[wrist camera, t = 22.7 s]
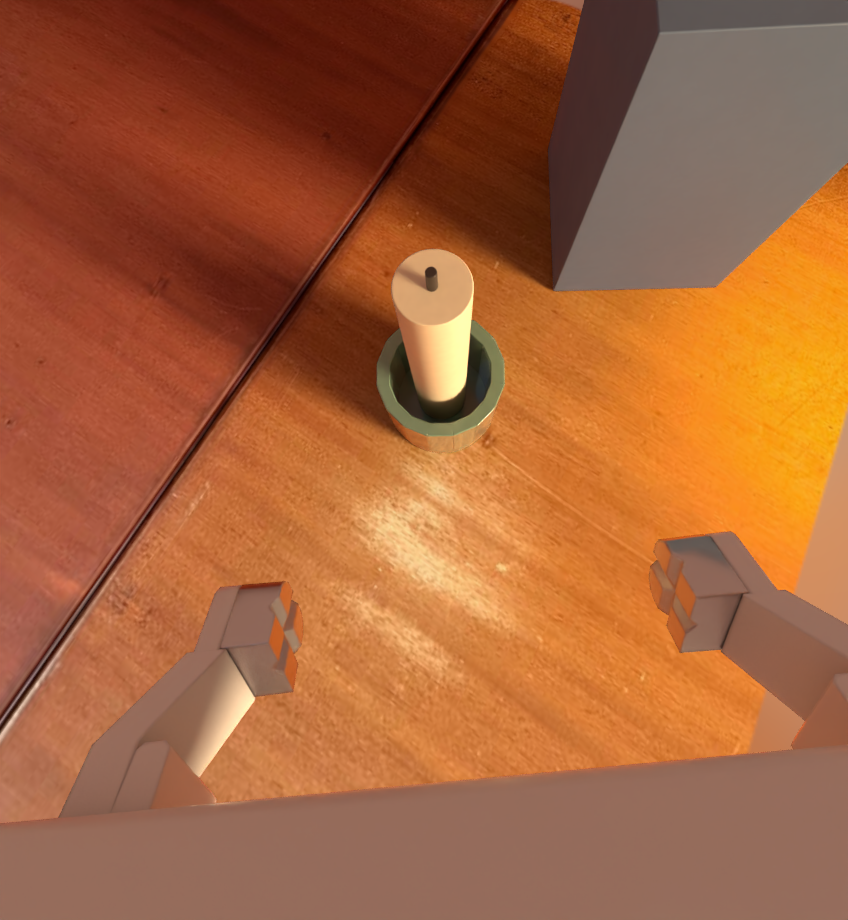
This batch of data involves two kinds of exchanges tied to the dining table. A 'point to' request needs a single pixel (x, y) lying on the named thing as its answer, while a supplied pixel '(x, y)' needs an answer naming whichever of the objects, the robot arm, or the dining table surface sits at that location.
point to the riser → (691, 135)
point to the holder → (478, 404)
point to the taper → (435, 326)
